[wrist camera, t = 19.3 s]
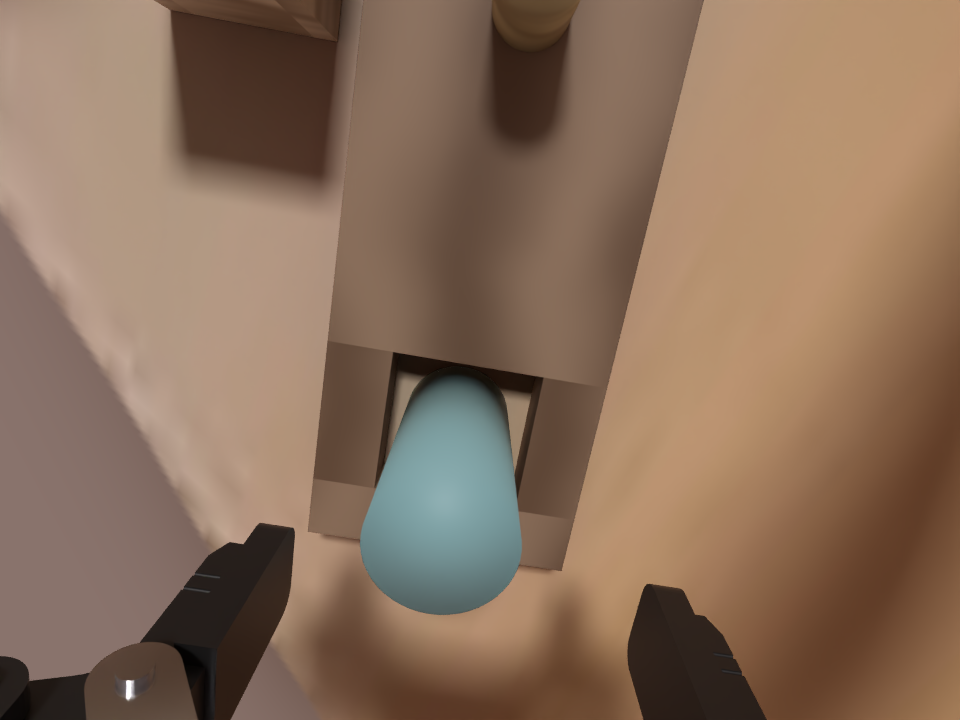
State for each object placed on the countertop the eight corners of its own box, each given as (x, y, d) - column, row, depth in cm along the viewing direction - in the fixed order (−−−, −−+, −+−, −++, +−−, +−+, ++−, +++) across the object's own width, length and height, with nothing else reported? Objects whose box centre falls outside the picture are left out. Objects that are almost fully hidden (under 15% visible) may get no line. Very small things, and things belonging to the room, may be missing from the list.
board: (714, -119, 18) (826, -272, 12) (555, 541, 24) (577, 648, 18) (398, -185, 17) (355, -378, 12) (321, 504, 24) (269, 602, 18)
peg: (515, 375, 22) (536, 488, 14) (497, 467, 23) (505, 625, 15) (415, 358, 22) (370, 460, 13) (400, 451, 23) (351, 601, 14)
